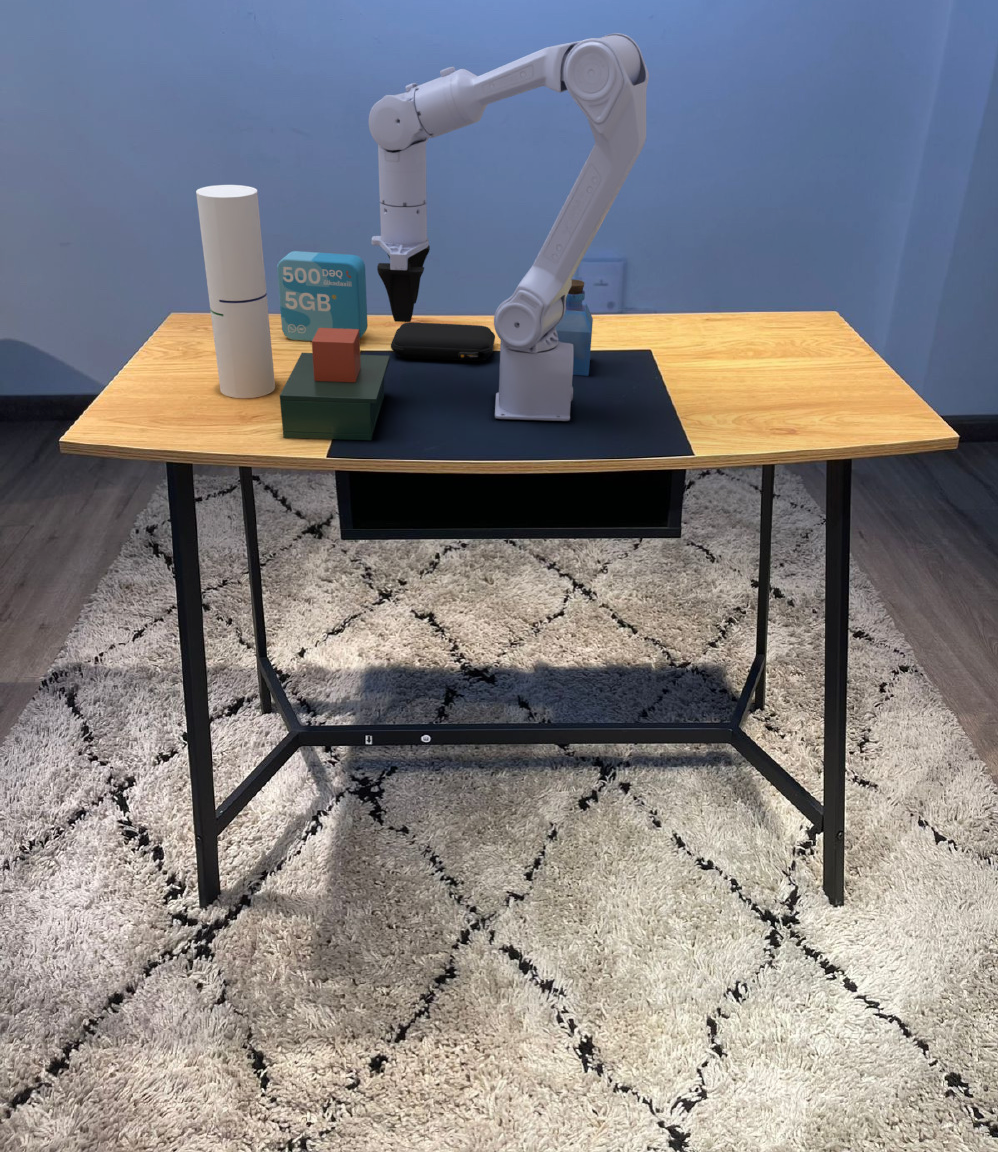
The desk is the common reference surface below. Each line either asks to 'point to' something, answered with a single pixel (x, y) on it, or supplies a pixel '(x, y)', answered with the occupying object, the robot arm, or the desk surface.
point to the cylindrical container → (237, 289)
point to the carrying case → (443, 341)
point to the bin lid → (359, 391)
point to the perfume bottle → (577, 328)
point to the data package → (321, 293)
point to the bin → (330, 419)
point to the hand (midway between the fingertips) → (405, 311)
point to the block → (336, 355)
